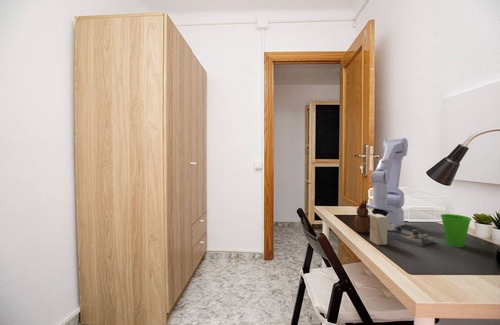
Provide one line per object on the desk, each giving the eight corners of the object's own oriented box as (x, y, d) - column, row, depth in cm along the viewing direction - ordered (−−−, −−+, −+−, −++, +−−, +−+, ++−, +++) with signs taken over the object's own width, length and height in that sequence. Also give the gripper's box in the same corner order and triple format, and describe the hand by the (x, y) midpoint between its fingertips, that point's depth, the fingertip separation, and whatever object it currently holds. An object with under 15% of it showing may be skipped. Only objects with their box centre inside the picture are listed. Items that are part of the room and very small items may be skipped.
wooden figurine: (367, 229, 109) (367, 198, 109) (372, 233, 104) (372, 200, 103) (352, 229, 110) (352, 198, 110) (357, 233, 104) (357, 200, 104)
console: (387, 229, 110) (387, 221, 110) (434, 241, 93) (434, 233, 93) (374, 232, 105) (374, 224, 105) (421, 246, 89) (421, 237, 89)
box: (369, 240, 96) (369, 213, 95) (379, 240, 96) (379, 213, 96) (377, 245, 91) (377, 217, 90) (388, 244, 91) (388, 216, 91)
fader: (389, 228, 105) (390, 222, 105) (394, 229, 103) (394, 223, 103) (386, 229, 104) (386, 223, 104) (390, 230, 102) (390, 224, 102)
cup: (470, 244, 90) (471, 216, 90) (471, 251, 84) (471, 221, 83) (441, 239, 96) (441, 212, 96) (439, 245, 90) (439, 217, 89)
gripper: (360, 195, 112) (360, 223, 112) (390, 199, 99) (390, 231, 99) (369, 193, 115) (369, 220, 116) (400, 198, 102) (400, 228, 103)
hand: (380, 225), depth 108 cm, fingers closed
